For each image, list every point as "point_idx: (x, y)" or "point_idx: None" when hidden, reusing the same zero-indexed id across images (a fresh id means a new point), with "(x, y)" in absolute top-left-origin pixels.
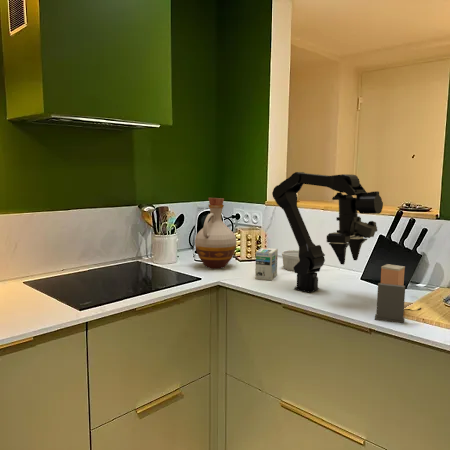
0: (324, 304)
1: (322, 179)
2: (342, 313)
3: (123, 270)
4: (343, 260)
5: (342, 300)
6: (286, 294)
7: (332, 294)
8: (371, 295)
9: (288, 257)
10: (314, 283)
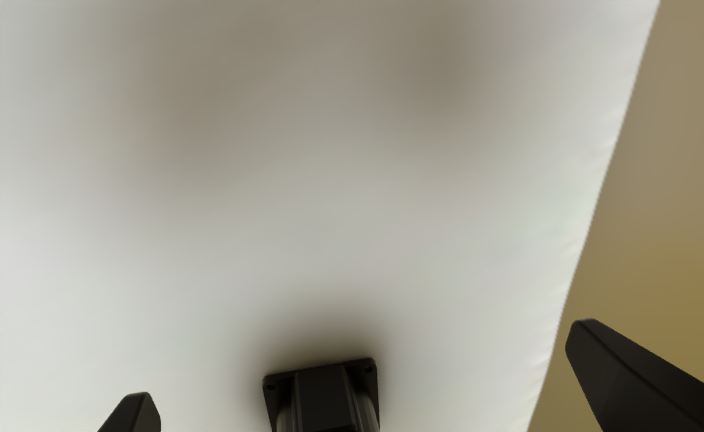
0: (516, 187)
1: None
2: (627, 5)
3: None
4: (649, 358)
5: (359, 165)
6: (478, 392)
7: (287, 277)
8: (34, 92)
9: None
10: (347, 398)
